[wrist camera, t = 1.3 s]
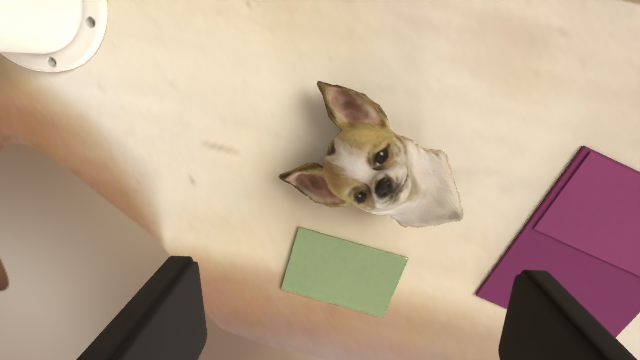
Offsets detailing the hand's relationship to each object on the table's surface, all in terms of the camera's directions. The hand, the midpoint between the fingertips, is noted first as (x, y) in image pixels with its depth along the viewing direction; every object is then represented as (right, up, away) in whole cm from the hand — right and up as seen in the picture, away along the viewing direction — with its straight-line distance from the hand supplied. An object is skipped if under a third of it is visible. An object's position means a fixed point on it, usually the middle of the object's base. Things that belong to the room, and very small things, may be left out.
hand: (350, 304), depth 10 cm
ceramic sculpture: (+4, +6, +23) cm, 24 cm away
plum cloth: (+27, -4, +24) cm, 36 cm away
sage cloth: (+2, -6, +27) cm, 27 cm away
